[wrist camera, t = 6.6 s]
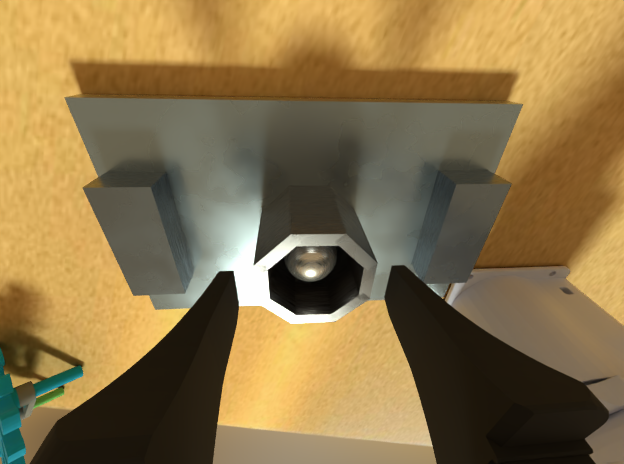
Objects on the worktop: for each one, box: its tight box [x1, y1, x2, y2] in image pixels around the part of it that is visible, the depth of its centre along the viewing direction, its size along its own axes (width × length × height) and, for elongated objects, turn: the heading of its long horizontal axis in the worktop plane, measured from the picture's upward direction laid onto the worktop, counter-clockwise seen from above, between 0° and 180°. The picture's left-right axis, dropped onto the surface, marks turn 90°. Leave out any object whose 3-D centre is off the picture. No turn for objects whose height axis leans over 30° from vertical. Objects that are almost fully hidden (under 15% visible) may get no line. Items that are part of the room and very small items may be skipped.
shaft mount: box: [64, 94, 523, 310], centre depth 16 cm, size 22×14×6 cm, turn 89°
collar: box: [253, 185, 378, 324], centre depth 15 cm, size 6×6×5 cm
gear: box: [0, 348, 83, 464], centre depth 22 cm, size 11×6×10 cm
